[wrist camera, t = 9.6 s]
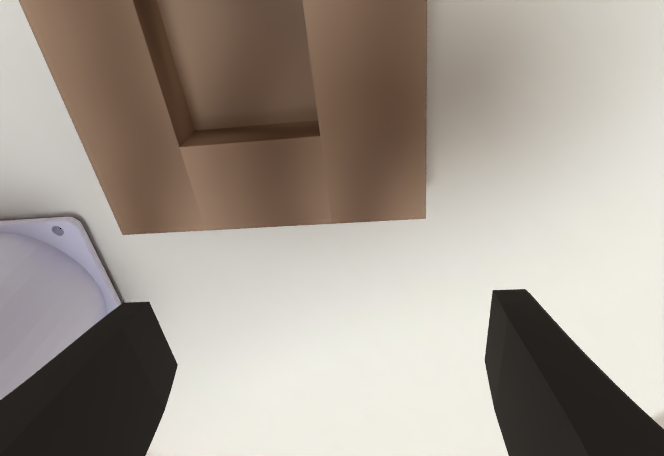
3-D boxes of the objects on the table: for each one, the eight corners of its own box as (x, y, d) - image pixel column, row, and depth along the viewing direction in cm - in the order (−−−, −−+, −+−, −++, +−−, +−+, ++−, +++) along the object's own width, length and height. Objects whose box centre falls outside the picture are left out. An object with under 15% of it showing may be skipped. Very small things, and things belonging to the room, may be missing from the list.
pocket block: (143, 209, 19) (122, 234, 18) (4, -141, 13) (-50, -153, 11) (420, 192, 18) (425, 218, 16) (419, -212, 12) (428, -237, 10)
